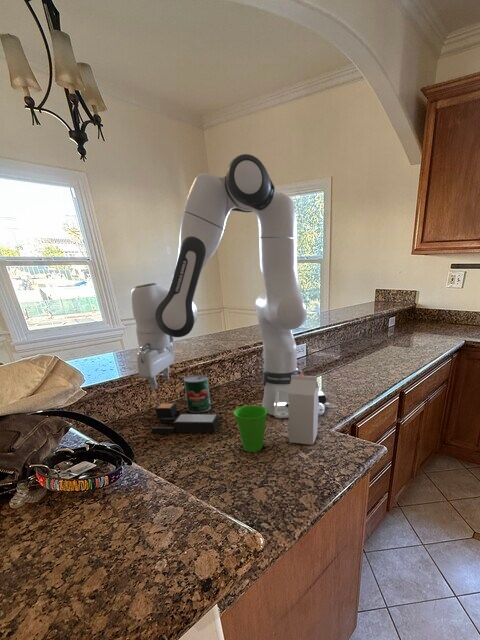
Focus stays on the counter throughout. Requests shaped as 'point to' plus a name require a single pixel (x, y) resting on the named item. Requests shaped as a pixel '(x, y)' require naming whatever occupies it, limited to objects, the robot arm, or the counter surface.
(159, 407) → the orange topped grey block
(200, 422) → the dark grey stepped block
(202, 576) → the counter surface
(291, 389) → the milk carton
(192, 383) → the canned tomato
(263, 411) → the cup
